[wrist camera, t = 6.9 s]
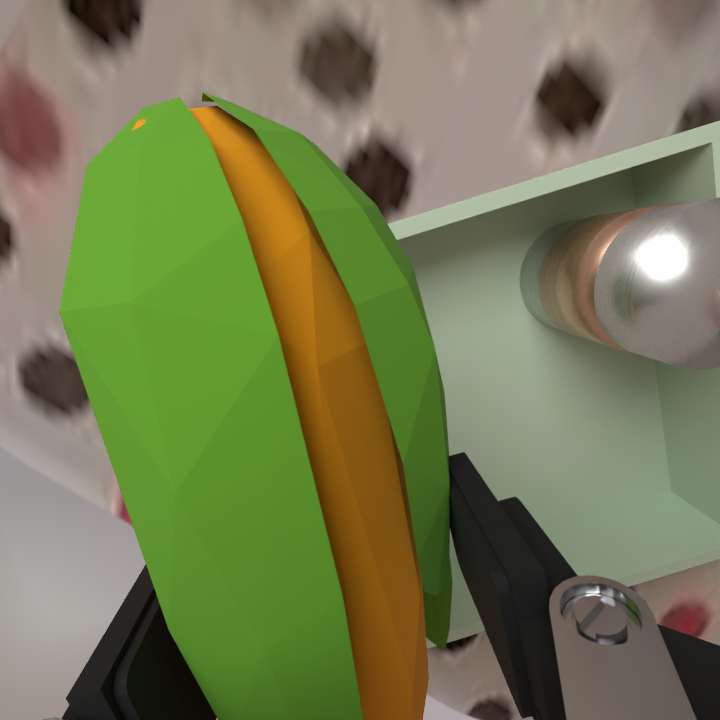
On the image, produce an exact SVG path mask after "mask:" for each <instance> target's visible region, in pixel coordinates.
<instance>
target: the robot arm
mask: <svg viewBox="0 0 720 720" xmlns="http://www.w3.org/2000/svg"><path fill="white" fill-rule="evenodd" d="M448 461H449V476H450V489H449V499H450V531H451V535H452V539H453V543H454V548H455V552H456V556H457V560H458V563H459V566H460V569H461V572H462V574H463V577H464V579H465V582H466V584H467V587H468V589H469V591H470V594H471V596H472V599H473V601H474V604H475V606H476V608H477V611H478V613H479V616H480V618H481V621H482V623H483V626H484V628H485V630H486V633H487V635H488V638H489V640H490V643H491V645H492V647H493V650H494V652H495V655H496V657H497V660H498V662H499V665H500V667H501V669H502V672H503V674H504V677H505V679H506V682H507V684H508V686H509V689H510V691H511V694H512V696H513V699H514V701H515V704H516V706H517V708H518V711H519V713H520V715H521V717H522V718H526V717H530V716H532V717H533V719H534V720H720V646H719V645H716V644H713V643H710V642H707V641H704V640H701V639H698V638H696V637H693V636H690V635H687V634H684V633H681V632H678V631H675V630H672V629H669V628H667V627H664V626H661V625H658V624H657V623H656V620H655V618H654V615H653V613H652V612H651V610H650V608H649V607H648V605H647V603H646V602H645V600H643V599H642V598H641V597H640V596H639V595H638V594H637V593H636V592H635V591H634V590H632V589H630V588H629V587H627V586H625V585H623V584H622V583H620V582H618V581H615V580H611V579H608V578H605V577H600V576H592V575H586V576H578V575H577V574H576V573H575V571H574V570H573V569H572V567H571V566H570V565H569V563H568V562H567V561H566V560H565V558H564V557H563V556H562V554H561V553H560V552H559V550H558V549H557V548H556V547H555V545H554V544H553V543H552V541H551V540H550V539H549V537H548V536H547V535H546V534H545V532H544V531H543V530H542V528H541V527H540V526H539V524H538V523H537V522H536V520H535V519H534V518H533V517H532V515H531V514H530V513H529V511H528V510H527V509H526V507H525V506H524V505H523V504H522V502H521V501H520V500H519V499H518V498H517V497H511V498H507V499H504V500H500V501H497V499H496V498H495V496H494V495H493V493H492V492H491V490H490V489H489V487H488V486H487V484H486V483H485V481H484V480H483V478H482V477H481V475H480V474H479V472H478V471H477V469H476V468H475V466H474V465H473V464H472V462H471V461H470V459H469V458H468V456H467V455H466V453H465V452H462V453H458V454H455V455H451V456H448ZM66 700H67V701H68V703H69V707H68V708H67V710H66V712H65V713H64V715H63V717H62V719H60V718H57V717H55V718H48V719H44V720H216V718H217V717H216V715H215V713H214V711H213V709H212V708H211V706H210V704H209V702H208V700H207V699H206V697H205V695H204V693H203V691H202V689H201V688H200V686H199V684H198V682H197V680H196V679H195V677H194V675H193V673H192V671H191V670H190V668H189V666H188V664H187V662H186V661H185V659H184V657H183V655H182V653H181V651H180V650H179V648H178V646H177V644H176V642H175V641H174V639H173V637H172V635H171V633H170V632H169V629H168V626H167V623H166V621H165V618H164V615H163V612H162V609H161V606H160V603H159V600H158V597H157V594H156V591H155V589H154V586H153V583H152V580H151V577H150V574H149V571H148V568H147V565H145V567H144V569H143V570H142V572H141V573H140V575H139V577H138V578H137V580H136V582H135V583H134V585H133V587H132V589H131V590H130V592H129V594H128V595H127V597H126V599H125V600H124V602H123V604H122V605H121V607H120V609H119V610H118V612H117V614H116V615H115V617H114V619H113V621H112V622H111V624H110V625H109V627H108V629H107V631H106V632H105V634H104V635H103V637H102V639H101V640H100V642H99V644H98V646H97V647H96V649H95V650H94V652H93V654H92V656H91V657H90V659H89V661H88V662H87V664H86V666H85V667H84V669H83V671H82V672H81V674H80V676H79V677H78V679H77V681H76V682H75V684H74V686H73V687H72V689H71V691H70V693H69V694H68V696H67V697H66Z"/></svg>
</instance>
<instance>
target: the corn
mask: <svg viewBox="0 0 720 720" xmlns="http://www.w3.org/2000/svg"><path fill="white" fill-rule="evenodd" d="M202 101H211V102H216V103H218V104H219V105H220V106H222V107H223V108H225V109H226V110H227V111H229V112H230V113H231V114H233V115H234V116H236V117H237V118H238V119H240V120H241V121H243V122H244V123H243V122H241V121H240V120H238V119H237V118H235V117H233V116H232V115H230V114H229V113H227V112H226V111H224V110H223V109H221V108H219V107H218V106H212V107H202V108H191V109H188V108H187V106H186V105H185V104H184V102H183V101H182V100H181V98H180V97H179V98H176V99H173V100H169V101H166V102H162V103H159V104H156V105H152V106H149V107H145V108H143V109H142V110H141V111H140V112H139V113H138V114H137V115H136V116H135V117H134V118H133V119H132V120H131V121H130V122H129V123H128V124H127V125H126V126H125V127H124V128H123V129H122V130H121V131H120V132H119V133H118V134H117V135H116V136H115V137H114V138H113V139H112V140H111V141H110V142H109V143H108V144H107V145H106V146H105V147H104V148H103V150H102V151H101V152H100V153H99V154H98V155H97V156H96V157H95V158H94V159H93V160H92V161H91V162H90V163H89V164H88V165H87V168H86V174H85V179H84V184H83V189H82V195H81V200H80V205H79V210H78V216H77V221H76V226H75V232H74V237H73V242H72V247H71V253H70V258H69V263H68V268H67V274H66V279H65V284H64V289H63V295H62V300H61V305H60V311H59V312H60V315H61V318H62V321H63V324H64V327H65V330H66V333H67V336H68V339H69V341H70V344H71V347H72V350H73V353H74V356H75V359H76V362H77V365H78V368H79V371H80V373H81V376H82V379H83V382H84V385H85V388H86V391H87V394H88V397H89V400H90V403H91V405H92V408H93V411H94V414H95V417H96V420H97V423H98V426H99V429H100V432H101V435H102V437H103V440H104V443H105V446H106V449H107V452H108V455H109V458H110V461H111V464H112V466H113V469H114V472H115V475H116V478H117V481H118V484H119V487H120V490H121V493H122V496H123V498H124V501H125V504H126V507H127V510H128V513H129V516H130V519H131V522H132V525H133V528H134V530H135V533H136V536H137V539H138V542H139V545H140V548H141V551H142V554H143V556H144V560H145V562H146V565H147V568H148V571H149V574H150V577H151V580H152V583H153V586H154V589H155V591H156V594H157V597H158V600H159V603H160V606H161V609H162V612H163V615H164V618H165V621H166V623H167V626H168V629H169V632H170V633H171V635H172V637H173V639H174V641H175V642H176V644H177V646H178V648H179V650H180V651H181V653H182V655H183V657H184V659H185V661H186V662H187V664H188V666H189V668H190V670H191V671H192V673H193V675H194V677H195V679H196V680H197V682H198V684H199V686H200V688H201V689H202V691H203V693H204V695H205V697H206V699H207V700H208V702H209V704H210V706H211V708H212V709H213V711H214V713H215V715H216V717H217V718H218V720H423V713H424V706H425V699H426V692H427V685H428V678H429V676H428V661H427V645H426V637H427V639H428V640H430V641H431V642H432V643H434V644H435V645H437V646H438V647H439V648H440V649H441V650H443V649H444V648H446V644H447V639H448V634H449V630H450V615H451V600H452V584H453V579H452V571H451V562H450V554H449V544H450V499H449V489H450V476H449V461H448V456H449V445H448V431H447V418H446V405H445V392H444V387H443V383H442V378H441V374H440V369H439V365H438V360H437V355H436V351H435V347H434V343H433V339H432V336H431V332H430V328H429V324H428V321H427V317H426V313H425V310H424V306H423V302H422V299H421V295H420V291H419V287H418V284H417V280H416V276H415V273H414V269H413V266H412V264H411V263H410V261H409V259H408V258H407V256H406V254H405V253H404V251H403V249H402V248H401V246H400V244H399V243H398V241H397V239H396V238H395V236H394V234H393V233H392V231H391V229H390V228H389V226H388V224H387V222H386V221H385V219H384V217H383V216H382V214H381V212H380V211H379V209H378V207H377V206H376V204H375V203H374V202H373V201H372V200H371V199H370V198H369V197H368V196H367V195H366V194H365V193H364V192H363V191H362V190H361V189H360V188H359V187H357V186H356V185H355V184H354V183H353V182H352V181H351V180H350V179H349V178H348V177H347V176H346V175H345V174H344V173H343V172H342V171H341V170H340V169H339V168H338V167H337V166H336V165H335V164H334V163H333V162H332V161H331V160H330V159H329V158H328V157H327V156H326V155H325V154H324V153H323V152H322V151H321V150H320V149H319V148H318V147H317V146H316V145H315V144H314V143H312V142H311V141H309V140H308V139H307V138H305V137H304V136H303V135H301V134H300V133H298V132H296V131H294V130H292V129H289V128H287V127H285V126H283V125H280V124H278V123H276V122H273V121H271V120H269V119H267V118H264V117H262V116H260V115H258V114H255V113H253V112H251V111H249V110H246V109H244V108H242V107H240V106H237V105H235V104H233V103H231V102H228V101H225V100H222V99H219V98H216V97H214V96H211V95H208V94H205V93H203V96H202Z"/></svg>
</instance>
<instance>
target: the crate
mask: <svg viewBox="0 0 720 720" xmlns="http://www.w3.org/2000/svg"><path fill="white" fill-rule="evenodd" d="M719 197H720V121H717V122H714V123H711V124H708V125H704V126H701V127H698V128H695V129H692V130H688V131H685V132H682V133H679V134H676V135H672V136H669V137H666V138H663V139H659V140H656V141H653V142H650V143H647V144H643V145H640V146H637V147H634V148H631V149H627V150H624V151H621V152H618V153H614V154H611V155H608V156H605V157H602V158H598V159H595V160H592V161H589V162H585V163H582V164H579V165H576V166H573V167H569V168H566V169H563V170H560V171H557V172H553V173H550V174H547V175H544V176H540V177H537V178H534V179H531V180H528V181H524V182H521V183H518V184H515V185H512V186H508V187H505V188H502V189H499V190H495V191H492V192H489V193H486V194H483V195H479V196H476V197H473V198H470V199H467V200H463V201H460V202H457V203H454V204H450V205H447V206H444V207H441V208H438V209H434V210H431V211H428V212H425V213H422V214H418V215H415V216H412V217H409V218H405V219H402V220H399V221H396V222H393V223H389V224H388V226H389V228H390V229H391V231H392V233H393V234H394V236H395V238H396V239H397V241H398V243H399V244H400V246H401V248H402V249H403V251H404V253H405V254H406V256H407V258H408V259H409V261H410V263H411V264H412V266H413V269H414V273H415V276H416V280H417V284H418V287H419V291H420V295H421V299H422V302H423V306H424V310H425V313H426V317H427V321H428V324H429V328H430V332H431V336H432V339H433V343H434V347H435V351H436V355H437V360H438V365H439V369H440V374H441V378H442V383H443V387H444V392H445V405H446V418H447V431H448V445H449V456H451V455H455V454H458V453H462V452H465V453H466V455H467V456H468V458H469V459H470V461H471V462H472V464H473V465H474V466H475V468H476V469H477V471H478V472H479V474H480V475H481V477H482V478H483V480H484V481H485V483H486V484H487V486H488V487H489V489H490V490H491V492H492V493H493V495H494V496H495V498H496V499H497V501H500V500H504V499H507V498H511V497H517V498H518V499H519V500H520V501H521V502H522V504H523V505H524V506H525V507H526V509H527V510H528V511H529V513H530V514H531V515H532V517H533V518H534V519H535V520H536V522H537V523H538V524H539V526H540V527H541V528H542V530H543V531H544V532H545V534H546V535H547V536H548V537H549V539H550V540H551V541H552V543H553V544H554V545H555V547H556V548H557V549H558V550H559V552H560V553H561V554H562V556H563V557H564V558H565V560H566V561H567V562H568V563H569V565H570V566H571V567H572V569H573V570H574V571H575V573H576V574H577V575H578V576H586V575H592V576H600V577H605V578H608V579H611V580H615V581H618V582H620V583H622V584H623V585H625V586H627V587H630V586H634V585H637V584H640V583H643V582H647V581H650V580H653V579H656V578H660V577H663V576H666V575H669V574H673V573H676V572H679V571H682V570H686V569H689V568H692V567H695V566H699V565H702V564H705V563H708V562H712V561H715V560H718V559H720V367H717V368H713V369H705V370H691V369H685V368H681V367H677V366H674V365H671V364H668V363H665V362H661V361H658V360H655V359H652V358H649V357H645V356H639V355H635V354H632V353H629V352H626V351H623V350H620V349H617V348H613V347H610V346H607V345H604V344H601V343H598V342H595V341H591V340H588V339H585V338H582V337H579V336H576V335H573V334H569V333H567V332H565V331H563V330H560V329H556V328H553V327H550V326H547V325H545V324H543V323H541V322H540V321H538V320H537V319H536V318H535V317H534V316H533V315H532V314H531V313H530V312H529V311H528V309H527V307H526V306H525V304H524V301H523V299H522V296H521V292H520V270H521V266H522V263H523V260H524V257H525V255H526V253H527V251H528V250H529V248H530V247H531V245H532V244H533V242H534V241H535V240H536V239H537V238H538V237H539V236H540V235H541V234H542V233H543V232H545V231H546V230H548V229H549V228H551V227H553V226H554V225H556V224H559V223H562V222H565V221H569V220H576V219H582V218H587V217H591V216H595V215H602V214H608V213H615V212H621V211H627V210H634V209H640V208H646V207H653V206H659V205H665V204H674V203H686V202H693V201H699V200H706V199H712V198H719ZM449 554H450V562H451V571H452V579H453V584H452V600H451V615H450V630H449V634H448V639H447V643H448V642H451V641H455V640H458V639H461V638H464V637H468V636H471V635H474V634H477V633H481V632H484V631H486V630H485V628H484V626H483V623H482V621H481V618H480V616H479V613H478V611H477V608H476V606H475V604H474V601H473V599H472V596H471V594H470V591H469V589H468V587H467V584H466V582H465V579H464V577H463V574H462V572H461V569H460V566H459V563H458V560H457V556H456V552H455V548H454V543H453V539H452V535H451V531H450V544H449ZM426 645H427V649H429V648H432V647H435V646H437V645H435V644H434V643H432V642H431V641H430V640H428V639H427V637H426Z"/></svg>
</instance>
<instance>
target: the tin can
mask: <svg viewBox="0 0 720 720" xmlns="http://www.w3.org/2000/svg"><path fill="white" fill-rule="evenodd" d="M520 292H521V296H522V299H523V301H524V304H525V306H526V307H527V309H528V311H529V312H530V313H531V314H532V315H533V316H534V317H535V318H536V319H537V320H538V321H540V322H541V323H543V324H545V325H547V326H550V327H553V328H556V329H560V330H563V331H565V332H567V333H569V334H573V335H576V336H579V337H582V338H585V339H588V340H591V341H595V342H598V343H601V344H604V345H607V346H610V347H613V348H617V349H620V350H623V351H626V352H629V353H632V354H635V355H639V356H645V357H649V358H652V359H655V360H658V361H661V362H665V363H668V364H671V365H674V366H677V367H681V368H685V369H691V370H705V369H713V368H717V367H720V197H719V198H712V199H706V200H699V201H693V202H686V203H674V204H665V205H659V206H653V207H646V208H640V209H634V210H627V211H621V212H615V213H608V214H602V215H595V216H591V217H587V218H582V219H576V220H569V221H565V222H562V223H559V224H556V225H554V226H553V227H551V228H549V229H548V230H546V231H545V232H543V233H542V234H541V235H540V236H539V237H538V238H537V239H536V240H535V241H534V242H533V244H532V245H531V247H530V248H529V250H528V251H527V253H526V255H525V257H524V260H523V263H522V266H521V270H520Z"/></svg>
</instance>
